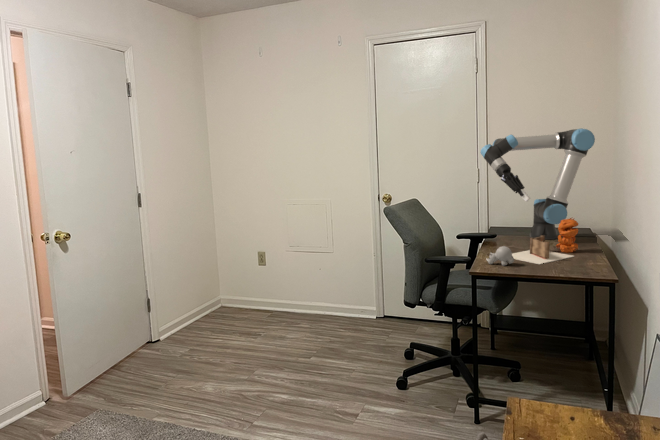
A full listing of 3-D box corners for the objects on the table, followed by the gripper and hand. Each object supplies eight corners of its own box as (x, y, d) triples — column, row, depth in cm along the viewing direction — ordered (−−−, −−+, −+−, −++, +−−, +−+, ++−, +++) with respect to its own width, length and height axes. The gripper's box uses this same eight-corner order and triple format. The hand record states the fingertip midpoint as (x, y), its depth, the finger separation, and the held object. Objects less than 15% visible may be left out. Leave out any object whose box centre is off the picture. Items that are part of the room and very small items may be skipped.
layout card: (501, 256, 252) (501, 255, 252) (535, 249, 266) (535, 248, 266) (539, 264, 234) (540, 263, 234) (574, 256, 247) (574, 255, 247)
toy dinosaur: (569, 254, 252) (570, 219, 249) (551, 251, 261) (552, 216, 259) (584, 252, 257) (585, 217, 254) (565, 248, 266) (566, 214, 264)
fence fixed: (541, 250, 262) (541, 235, 261) (545, 250, 260) (545, 235, 259) (528, 253, 255) (529, 237, 254) (532, 254, 254) (533, 238, 253)
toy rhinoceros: (491, 267, 241) (484, 251, 241) (516, 259, 236) (509, 242, 236) (489, 270, 235) (482, 253, 235) (514, 262, 229) (507, 245, 230)
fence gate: (531, 253, 253) (531, 237, 252) (535, 252, 254) (535, 237, 253) (546, 258, 241) (546, 242, 240) (549, 258, 241) (550, 242, 240)
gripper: (504, 171, 283) (530, 203, 272) (489, 173, 276) (516, 205, 265) (512, 162, 278) (539, 194, 267) (498, 163, 271) (525, 196, 260)
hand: (527, 199), depth 266 cm, fingers closed
